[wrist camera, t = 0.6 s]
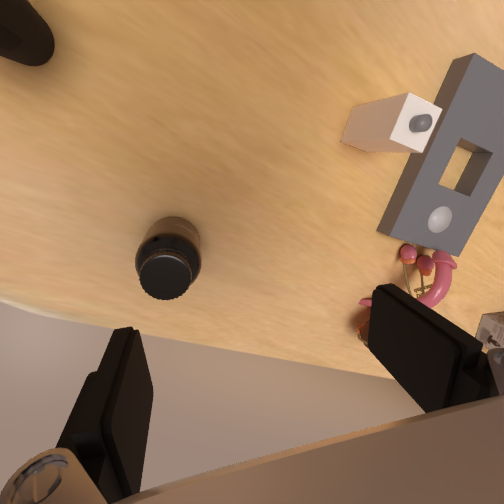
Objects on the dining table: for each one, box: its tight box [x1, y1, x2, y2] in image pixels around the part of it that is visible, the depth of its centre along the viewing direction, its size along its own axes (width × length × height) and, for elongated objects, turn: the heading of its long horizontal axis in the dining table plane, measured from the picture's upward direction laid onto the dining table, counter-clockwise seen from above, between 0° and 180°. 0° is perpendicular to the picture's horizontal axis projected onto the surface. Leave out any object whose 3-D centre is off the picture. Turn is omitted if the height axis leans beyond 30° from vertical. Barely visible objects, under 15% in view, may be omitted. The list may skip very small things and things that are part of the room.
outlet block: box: [377, 53, 504, 257], centre depth 41 cm, size 24×14×3 cm, turn 162°
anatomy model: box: [357, 244, 457, 348], centre depth 43 cm, size 11×15×17 cm
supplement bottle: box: [135, 217, 201, 300], centre depth 32 cm, size 7×7×12 cm
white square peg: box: [340, 92, 442, 153], centre depth 32 cm, size 4×4×11 cm
